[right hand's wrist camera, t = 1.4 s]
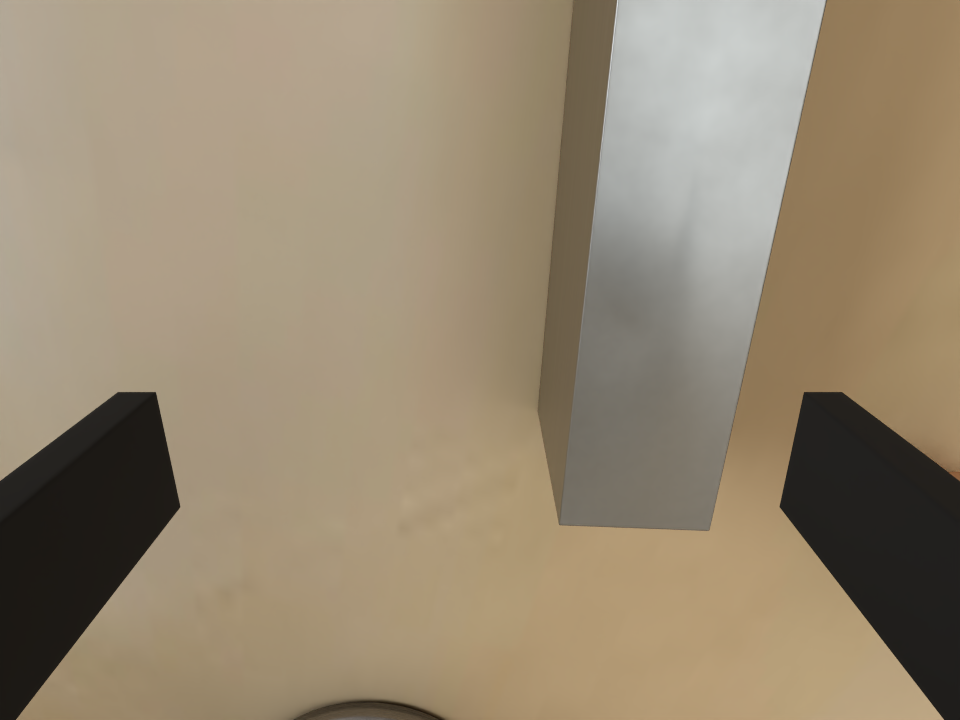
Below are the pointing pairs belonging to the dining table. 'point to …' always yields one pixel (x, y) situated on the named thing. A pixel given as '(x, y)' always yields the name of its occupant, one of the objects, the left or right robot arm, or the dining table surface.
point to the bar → (663, 245)
